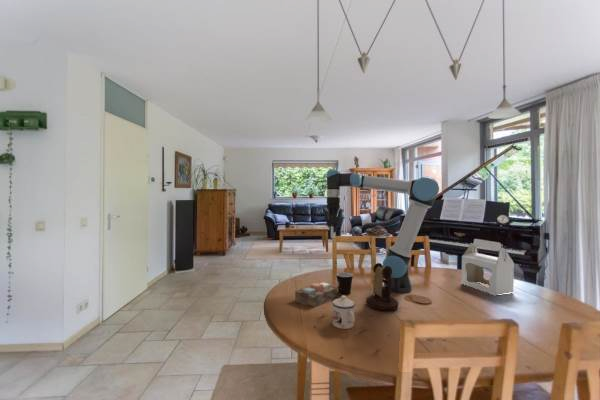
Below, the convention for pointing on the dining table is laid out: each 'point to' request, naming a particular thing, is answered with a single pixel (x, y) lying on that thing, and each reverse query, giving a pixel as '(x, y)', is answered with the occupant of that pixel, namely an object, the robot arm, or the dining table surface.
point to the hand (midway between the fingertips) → (333, 237)
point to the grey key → (308, 290)
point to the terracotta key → (317, 286)
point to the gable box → (499, 266)
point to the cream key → (325, 285)
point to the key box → (316, 296)
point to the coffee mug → (344, 283)
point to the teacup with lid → (343, 313)
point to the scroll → (382, 289)
